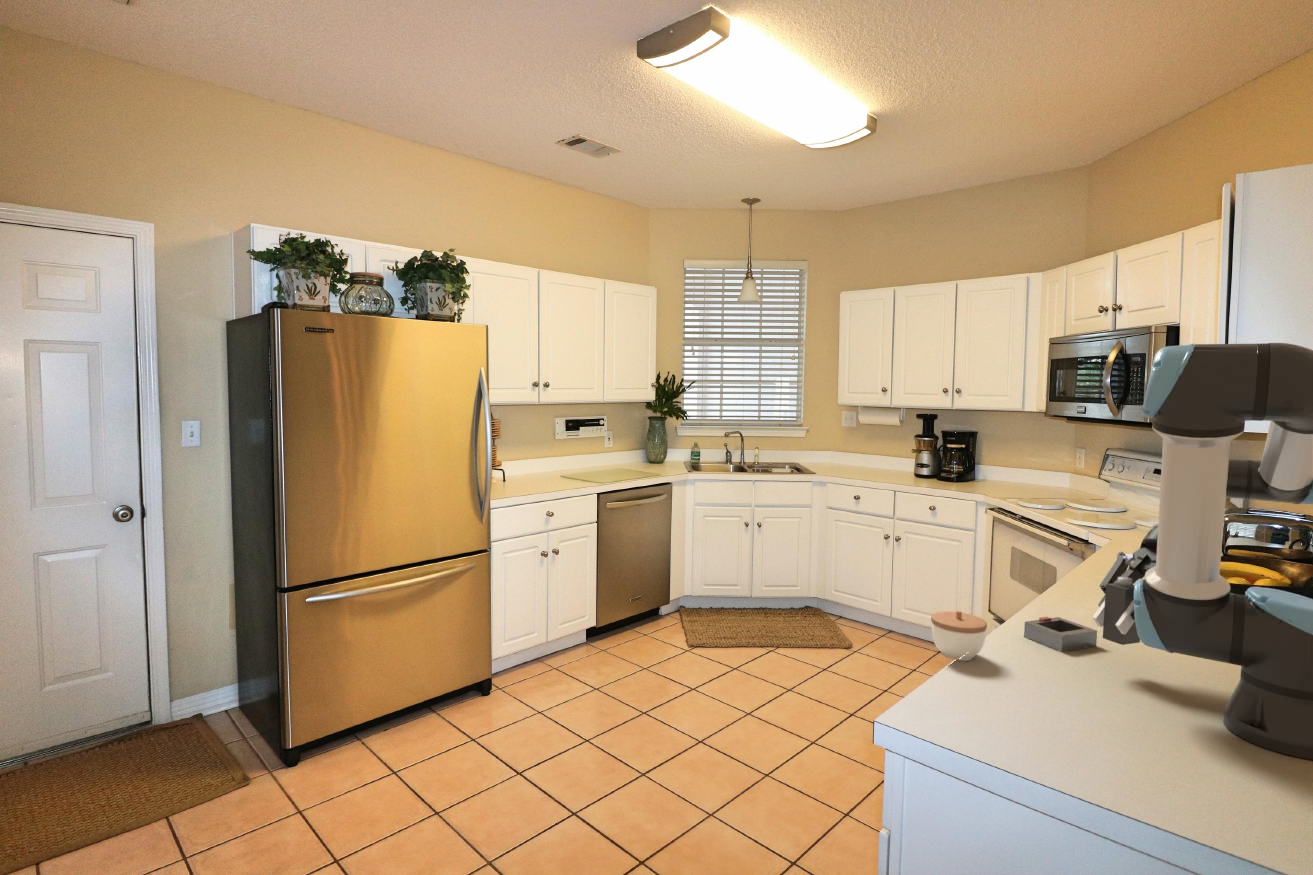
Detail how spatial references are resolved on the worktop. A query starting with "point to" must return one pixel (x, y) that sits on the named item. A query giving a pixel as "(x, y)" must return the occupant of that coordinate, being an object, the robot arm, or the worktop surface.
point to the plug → (1118, 611)
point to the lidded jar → (958, 634)
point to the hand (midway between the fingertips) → (1108, 625)
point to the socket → (1060, 633)
